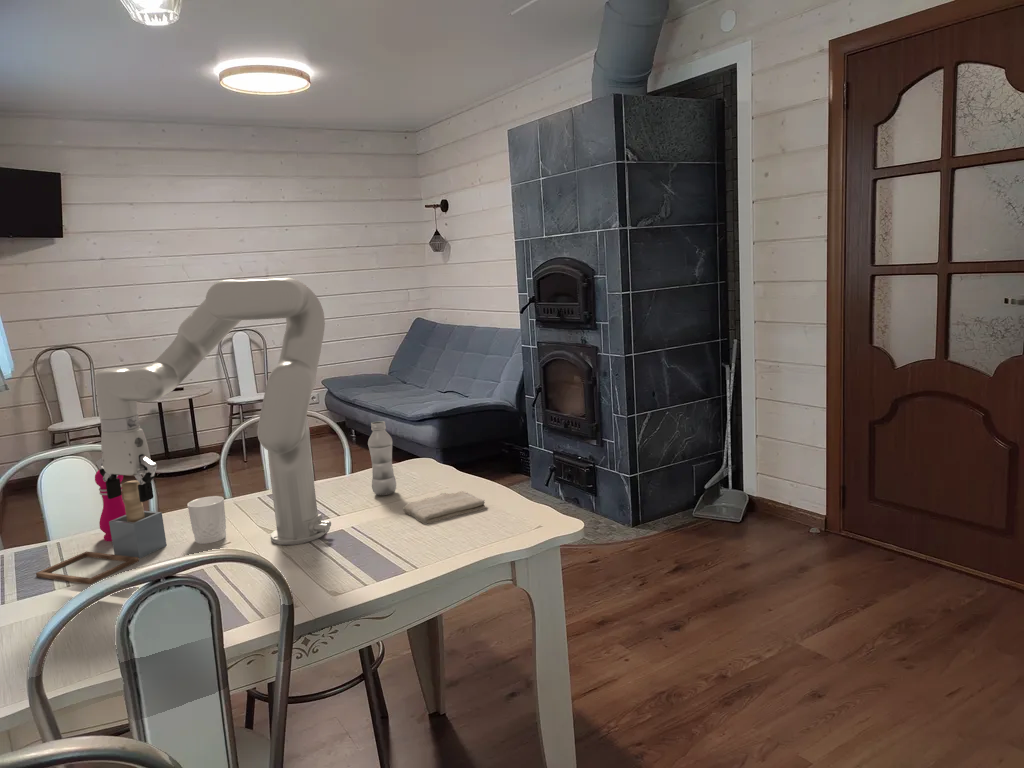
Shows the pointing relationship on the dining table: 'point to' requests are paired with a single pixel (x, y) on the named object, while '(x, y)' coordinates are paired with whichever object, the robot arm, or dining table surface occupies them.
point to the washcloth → (443, 506)
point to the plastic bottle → (381, 460)
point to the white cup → (207, 519)
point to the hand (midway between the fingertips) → (130, 498)
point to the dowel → (132, 501)
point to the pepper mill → (109, 506)
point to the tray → (47, 574)
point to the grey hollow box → (138, 535)
